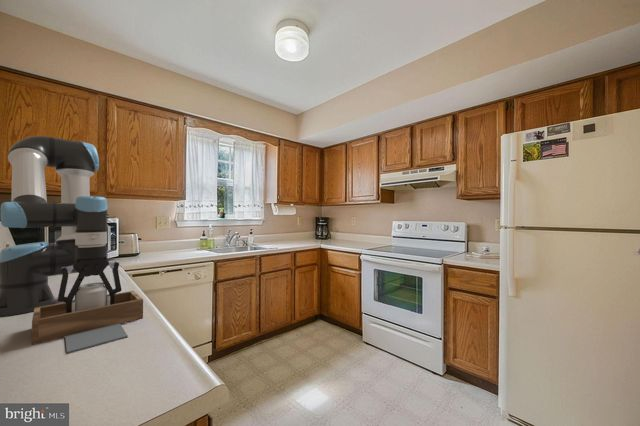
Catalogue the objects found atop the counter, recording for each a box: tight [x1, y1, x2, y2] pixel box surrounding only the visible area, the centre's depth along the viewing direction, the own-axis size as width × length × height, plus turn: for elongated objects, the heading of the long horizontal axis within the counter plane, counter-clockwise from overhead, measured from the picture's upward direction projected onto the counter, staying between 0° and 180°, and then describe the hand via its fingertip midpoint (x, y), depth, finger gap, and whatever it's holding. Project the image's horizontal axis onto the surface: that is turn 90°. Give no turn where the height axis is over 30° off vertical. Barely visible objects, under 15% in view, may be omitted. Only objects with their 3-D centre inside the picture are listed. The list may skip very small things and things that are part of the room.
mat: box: [64, 323, 129, 355], centre depth 72 cm, size 12×12×1 cm
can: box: [74, 281, 108, 312], centre depth 82 cm, size 8×8×12 cm
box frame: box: [31, 290, 144, 345], centre depth 82 cm, size 14×24×6 cm, turn 136°
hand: (91, 319), depth 81 cm, fingers closed on can, 7 cm apart
